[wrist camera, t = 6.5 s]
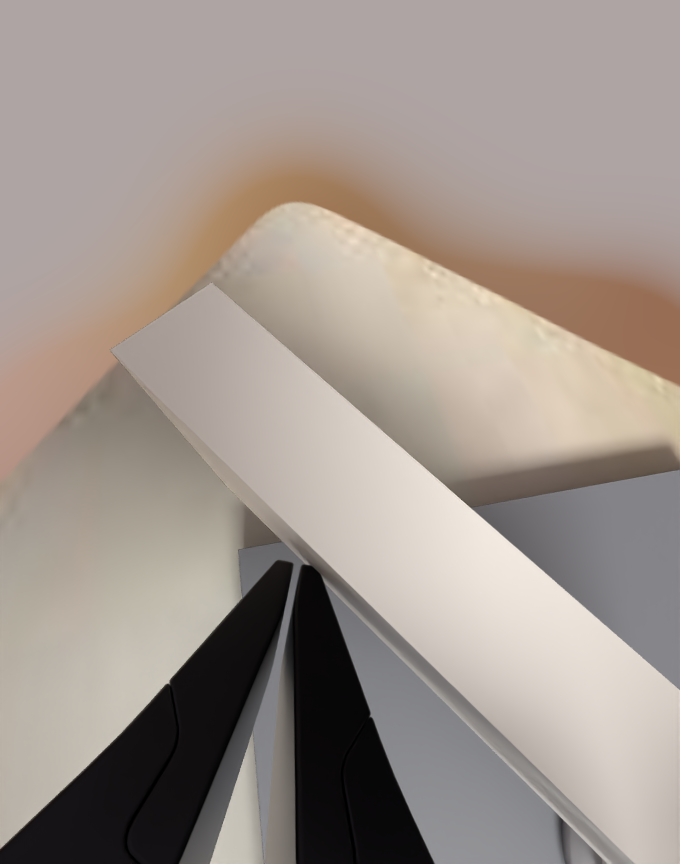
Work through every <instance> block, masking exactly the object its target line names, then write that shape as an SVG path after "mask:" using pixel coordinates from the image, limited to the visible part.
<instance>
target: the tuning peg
mask: <svg viewBox="0 0 680 864" xmlns="http://www.w3.org/2000/svg"><path fill="white" fill-rule="evenodd" d="M110 351H111V352H112V353H113V355H114V356H115V357H116V358H117V359H118V360H119V362H120V363H121V364H122V365H123V366H124V367H125V369H126V370H127V371H128V372H129V373H130V374H131V376H132V377H133V378H134V379H135V380H136V381H137V383H138V384H139V385H140V386H141V387H142V388H143V390H144V391H145V392H146V393H147V394H148V395H149V396H150V398H151V399H152V400H153V401H154V402H155V403H156V405H157V406H158V407H159V408H160V409H161V410H162V412H163V413H164V414H165V415H166V416H167V417H168V419H169V420H170V421H171V422H172V423H173V424H174V426H175V427H176V428H177V429H178V430H179V431H180V433H181V434H182V435H183V436H184V437H185V438H186V439H187V441H188V442H189V443H190V444H191V445H192V446H193V448H194V449H195V450H196V451H197V452H198V453H199V455H200V456H201V457H202V458H203V459H204V460H205V462H206V463H207V464H208V465H209V466H210V467H211V469H212V470H213V471H214V472H215V473H216V474H217V476H218V477H219V478H220V479H221V480H222V481H223V483H224V484H225V485H226V486H227V487H228V488H229V489H230V490H231V491H232V492H233V493H234V494H235V495H236V496H237V497H238V498H239V499H240V500H241V501H242V502H243V503H244V504H245V505H246V506H247V507H248V508H249V509H250V510H251V511H252V512H253V513H254V514H255V515H256V516H257V517H258V518H259V519H260V520H261V521H262V522H263V523H264V524H265V525H266V526H267V527H268V528H269V529H270V530H271V531H272V532H273V533H274V534H275V535H276V536H277V537H278V538H280V539H281V540H282V541H283V542H284V543H285V544H286V545H287V546H288V547H289V548H290V549H291V550H292V551H293V552H294V553H295V554H296V555H297V556H298V557H299V558H300V559H301V560H302V561H303V562H304V563H305V564H307V565H312V566H313V567H314V568H315V569H316V570H317V571H318V572H319V573H320V574H321V575H322V578H323V581H324V583H325V584H326V585H327V586H328V587H329V588H330V589H331V590H332V591H333V592H334V593H335V594H336V595H337V596H338V597H339V598H340V599H341V600H342V601H343V602H344V603H345V604H346V605H347V606H348V607H349V608H350V609H351V610H352V611H353V612H354V613H355V614H356V615H357V616H358V617H359V618H360V619H361V620H362V621H363V622H364V623H365V624H366V625H367V626H368V627H369V628H370V629H371V630H372V631H373V632H374V633H375V634H376V635H377V636H378V637H379V638H380V639H381V640H382V641H383V642H384V643H385V644H386V645H387V646H388V647H389V648H390V649H391V650H392V651H393V652H394V653H395V654H396V655H397V656H398V657H399V658H401V659H402V660H403V661H404V662H405V663H406V664H407V665H408V666H409V667H410V668H411V669H412V670H413V671H414V672H415V673H416V674H417V675H418V676H419V677H420V678H421V679H422V680H423V681H424V682H425V683H426V684H427V685H428V686H429V687H430V688H431V689H432V690H433V691H434V692H435V693H436V694H437V695H438V696H439V697H440V698H441V699H442V700H443V701H444V702H445V703H446V704H447V705H448V706H449V707H450V708H451V709H452V710H453V711H454V712H455V713H456V714H457V715H458V716H459V717H460V718H461V719H462V720H463V721H464V722H465V723H466V724H467V725H468V726H469V727H470V728H471V729H472V730H473V731H474V732H475V733H476V734H477V735H478V736H479V737H480V738H481V739H482V740H483V741H484V742H485V743H486V744H487V745H488V746H489V747H490V748H491V749H492V750H493V751H494V752H495V753H496V754H497V755H498V756H499V757H500V758H501V759H502V760H503V761H504V762H505V763H506V764H507V765H508V766H509V767H510V768H511V769H512V770H513V771H514V772H515V773H516V774H517V775H518V776H519V777H521V778H522V779H523V780H524V781H525V782H526V783H527V784H528V785H529V786H530V787H531V788H532V789H533V790H534V791H535V792H536V793H537V794H538V795H539V796H540V797H541V798H542V799H543V800H544V801H545V802H546V803H547V804H548V805H549V806H550V807H551V808H552V809H553V810H554V811H555V812H556V813H557V814H558V815H559V816H560V817H561V818H562V819H563V820H564V821H565V822H566V823H567V824H568V825H569V826H570V827H571V828H572V829H573V830H574V831H575V832H576V833H577V834H578V835H579V836H580V837H581V838H582V839H583V840H584V841H585V842H586V843H587V844H588V845H589V846H590V847H591V848H592V849H593V850H594V851H595V852H596V853H597V854H598V855H599V856H600V857H601V858H602V864H680V690H679V689H678V688H677V687H676V686H674V685H673V684H672V683H671V682H670V681H669V680H667V679H666V678H665V677H664V676H663V675H662V674H661V673H659V672H658V671H657V670H656V669H655V668H654V667H653V666H651V665H650V664H649V663H648V662H647V661H646V660H645V659H643V658H642V657H641V656H640V655H639V654H638V653H637V652H635V651H634V650H633V649H632V648H631V647H630V646H628V645H627V644H626V643H625V642H624V641H623V640H622V639H620V638H619V637H618V636H617V635H616V634H615V633H614V632H612V631H611V630H610V629H609V628H608V627H607V626H606V625H604V624H603V623H602V622H601V621H600V620H599V619H597V618H596V617H595V616H594V615H593V614H592V613H591V612H589V611H588V610H587V609H586V608H585V607H584V606H583V605H581V604H580V603H579V602H578V601H577V600H576V599H575V598H573V597H572V596H571V595H570V594H569V593H568V592H567V591H565V590H564V589H563V588H562V587H561V586H560V585H558V584H557V583H556V582H555V581H554V580H553V579H552V578H550V577H549V576H548V575H547V574H546V573H545V572H544V571H542V570H541V569H540V568H539V567H538V566H537V565H536V564H534V563H533V562H532V561H531V560H530V559H529V558H528V557H526V556H525V555H524V554H523V553H522V552H521V551H519V550H518V549H517V548H516V547H515V546H514V545H513V544H511V543H510V542H509V541H508V540H507V539H506V538H505V537H503V536H502V535H501V534H500V533H499V532H498V531H497V530H495V529H494V528H493V527H492V526H491V525H490V524H488V523H487V522H486V521H485V520H484V519H483V518H482V517H480V516H479V515H478V514H477V513H476V512H475V511H474V510H472V509H471V508H470V507H469V506H468V505H467V504H466V503H464V502H463V501H462V500H461V499H460V498H459V497H458V496H456V495H455V494H454V493H453V492H452V491H451V490H449V489H448V488H447V487H446V486H445V485H444V484H443V483H441V482H440V481H439V480H438V479H437V478H436V477H435V476H433V475H432V474H431V473H430V472H429V471H428V470H427V469H425V468H424V467H423V466H422V465H421V464H420V463H419V462H417V461H416V460H415V459H414V458H413V457H412V456H410V455H409V454H408V453H407V452H406V451H405V450H404V449H402V448H401V447H400V446H399V445H398V444H397V443H396V442H394V441H393V440H392V439H391V438H390V437H389V436H388V435H386V434H385V433H384V432H383V431H382V430H381V429H379V428H378V427H377V426H376V425H375V424H374V423H373V422H371V421H370V420H369V419H368V418H367V417H366V416H365V415H363V414H362V413H361V412H360V411H359V410H358V409H357V408H355V407H354V406H353V405H352V404H351V403H350V402H349V401H347V400H346V399H345V398H344V397H343V396H342V395H340V394H339V393H338V392H337V391H336V390H335V389H334V388H332V387H331V386H330V385H329V384H328V383H327V382H326V381H324V380H323V379H322V378H321V377H320V376H319V375H318V374H316V373H315V372H314V371H313V370H312V369H311V368H310V367H308V366H307V365H306V364H305V363H304V362H303V361H301V360H300V359H299V358H298V357H297V356H296V355H295V354H293V353H292V352H291V351H290V350H289V349H288V348H287V347H285V346H284V345H283V344H282V343H281V342H280V341H279V340H277V339H276V338H275V337H274V336H273V335H272V334H270V333H269V332H268V331H267V330H266V329H265V328H264V327H262V326H261V325H260V324H259V323H258V322H257V321H256V320H254V319H253V318H252V317H251V316H250V315H249V314H248V313H246V312H245V311H244V310H243V309H242V308H241V307H240V306H238V305H237V304H236V303H235V302H234V301H233V300H231V299H230V298H229V297H228V296H227V295H226V294H225V293H223V292H222V291H221V290H220V289H219V288H218V287H217V286H215V285H214V284H213V283H212V282H211V283H210V284H208V285H207V286H205V287H204V288H202V289H201V290H199V291H198V292H196V293H195V294H193V295H192V296H190V297H189V298H187V299H186V300H184V301H183V302H181V303H180V304H178V305H177V306H175V307H174V308H172V309H171V310H169V311H168V312H166V313H165V314H163V315H162V316H160V317H159V318H157V319H156V320H154V321H153V322H151V323H150V324H148V325H147V326H145V327H144V328H142V329H141V330H139V331H138V332H136V333H135V334H133V335H132V336H130V337H129V338H127V339H126V340H124V341H123V342H121V343H120V344H118V345H116V346H115V347H113V348H112V349H110Z"/></svg>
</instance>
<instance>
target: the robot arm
mask: <svg viewBox="0 0 680 864" xmlns="http://www.w3.org/2000/svg"><path fill="white" fill-rule="evenodd" d="M293 567H294V564H293V562H290V561H285V560H276V561H275V562H274V563H273V564H272V565H271V566H270V568H269V569H268V570H267V571H266V572H265V573H264V574H263V575H262V577H261V578H260V579H259V580H258V581H257V582H256V583H255V584H254V586H253V587H252V588H251V589H250V590H249V591H248V592H247V594H246V595H245V596H244V597H243V598H242V599H241V600H240V601H239V603H238V604H237V605H236V606H235V607H234V608H233V609H232V610H231V612H230V613H229V614H228V615H227V616H226V617H225V618H224V619H223V621H222V622H221V623H220V624H219V625H218V626H217V627H216V629H215V630H214V631H213V632H212V633H211V634H210V635H209V636H208V638H207V639H206V640H205V641H204V642H203V643H202V644H201V645H200V647H199V648H198V649H197V650H196V651H195V652H194V653H193V654H192V656H191V657H190V658H189V659H188V660H187V661H186V662H185V663H184V665H183V666H182V667H181V668H180V669H179V670H178V671H177V673H176V674H175V675H174V676H173V677H172V678H171V679H170V682H169V684H166V685H165V686H164V687H163V688H162V689H161V690H160V691H159V693H158V694H157V695H156V696H155V697H154V698H153V699H152V700H151V702H150V703H149V704H148V705H147V706H146V707H145V708H144V709H143V710H142V711H141V712H140V713H139V715H138V716H137V717H136V718H135V719H134V720H133V721H132V722H131V723H130V724H129V725H128V726H127V727H126V729H125V730H124V731H123V732H122V733H121V734H120V735H119V736H118V737H117V738H116V739H115V740H114V741H113V742H112V743H111V744H110V745H109V746H108V747H107V748H106V749H105V750H104V751H103V752H102V753H101V754H99V755H98V756H97V757H96V758H95V759H94V760H93V761H92V762H91V763H90V764H89V765H88V766H87V767H86V768H85V769H84V770H83V771H82V772H81V773H80V774H79V775H78V776H77V777H76V778H75V779H74V780H73V781H71V782H70V783H69V784H68V785H67V786H66V787H65V788H64V789H63V790H62V791H61V792H60V793H59V794H58V795H57V796H56V797H55V798H54V799H52V800H51V801H50V802H49V803H48V804H47V805H46V806H45V807H44V808H43V809H42V810H41V811H40V812H39V813H38V814H37V815H36V816H34V817H33V818H32V819H31V820H30V821H29V822H28V823H27V824H26V825H25V826H24V827H23V828H22V829H21V830H20V831H19V832H18V833H17V834H15V835H14V836H13V837H12V838H11V839H10V840H9V841H8V842H7V843H6V844H5V845H4V846H3V847H2V848H1V849H0V864H210V861H211V858H212V855H213V852H214V849H215V845H216V842H217V839H218V836H219V833H220V830H221V827H222V824H223V821H224V818H225V814H226V811H227V808H228V805H229V802H230V799H231V796H232V793H233V790H234V786H235V783H236V780H237V777H238V774H239V771H240V768H241V765H242V762H243V759H244V755H245V752H246V749H247V746H248V743H249V740H250V737H251V734H252V731H253V727H254V724H255V721H256V718H257V715H258V712H259V709H260V706H261V703H262V700H263V696H264V693H265V690H266V687H267V684H268V681H269V678H270V674H271V671H272V667H273V663H274V659H275V655H276V650H277V645H278V640H279V636H280V631H281V626H282V621H283V616H284V611H285V606H286V602H287V597H288V592H289V587H290V582H291V577H292V572H293ZM370 716H371V711H370V709H369V706H368V703H367V700H366V697H365V695H364V692H363V689H362V686H361V684H360V681H359V678H358V675H357V672H356V670H355V667H354V664H353V661H352V659H351V656H350V653H349V650H348V647H347V645H346V642H345V639H344V636H343V634H342V631H341V628H340V625H339V622H338V620H337V617H336V614H335V611H334V608H333V606H332V603H331V600H330V597H329V595H328V592H327V589H326V586H325V583H324V581H323V578H322V575H321V574H320V573H319V572H318V571H317V570H316V569H315V568H314V567H313V566H312V565H307V564H302V565H301V567H300V571H299V576H298V581H297V585H296V590H295V595H294V600H293V605H292V610H291V615H290V621H289V626H288V631H287V636H286V641H285V647H284V652H283V657H282V663H281V670H280V679H279V691H278V703H277V715H276V727H275V740H274V752H273V764H272V776H271V788H270V800H269V813H268V825H267V837H266V849H265V861H264V864H435V863H434V860H433V858H432V856H431V854H430V852H429V850H428V848H427V846H426V843H425V841H424V839H423V837H422V835H421V833H420V831H419V828H418V826H417V824H416V822H415V820H414V818H413V816H412V813H411V811H410V809H409V807H408V804H407V802H406V800H405V798H404V795H403V793H402V791H401V789H400V786H399V784H398V782H397V780H396V777H395V775H394V772H393V770H392V767H391V765H390V762H389V759H388V757H387V754H386V752H385V749H384V747H383V744H382V741H381V739H380V736H379V733H378V730H377V728H376V725H375V722H374V719H373V718H372V717H370Z"/></svg>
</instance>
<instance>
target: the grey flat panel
mask: <svg viewBox="0 0 680 864" xmlns="http://www.w3.org/2000/svg"><path fill="white" fill-rule="evenodd" d="M471 509H472V510H474V511H475V512H476V513H477V514H478V515H479V516H480V517H482V518H483V519H484V520H485V521H486V522H487V523H488V524H490V525H491V526H492V527H493V528H494V529H495V530H497V531H498V532H499V533H500V534H501V535H502V536H503V537H505V538H506V539H507V540H508V541H509V542H510V543H511V544H513V545H514V546H515V547H516V548H517V549H518V550H519V551H521V552H522V553H523V554H524V555H525V556H526V557H528V558H529V559H530V560H531V561H532V562H533V563H534V564H536V565H537V566H538V567H539V568H540V569H541V570H542V571H544V572H545V573H546V574H547V575H548V576H549V577H550V578H552V579H553V580H554V581H555V582H556V583H557V584H558V585H560V586H561V587H562V588H563V589H564V590H565V591H567V592H568V593H569V594H570V595H571V596H572V597H573V598H575V599H576V600H577V601H578V602H579V603H580V604H581V605H583V606H584V607H585V608H586V609H587V610H588V611H589V612H591V613H592V614H593V615H594V616H595V617H596V618H597V619H599V620H600V621H601V622H602V623H603V624H604V625H606V626H607V627H608V628H609V629H610V630H611V631H612V632H614V633H615V634H616V635H617V636H618V637H619V638H620V639H622V640H623V641H624V642H625V643H626V644H627V645H628V646H630V647H631V648H632V649H633V650H634V651H635V652H637V653H638V654H639V655H640V656H641V657H642V658H643V659H645V660H646V661H647V662H648V663H649V664H650V665H651V666H653V667H654V668H655V669H656V670H657V671H658V672H659V673H661V674H662V675H663V676H664V677H665V678H666V679H667V680H669V681H670V682H671V683H672V684H673V685H674V686H676V687H677V688H678V689H679V690H680V470H675V471H670V472H664V473H659V474H653V475H648V476H642V477H637V478H631V479H626V480H620V481H615V482H609V483H604V484H598V485H593V486H587V487H582V488H576V489H570V490H565V491H559V492H554V493H548V494H543V495H537V496H532V497H526V498H521V499H515V500H510V501H504V502H499V503H493V504H488V505H482V506H477V507H471ZM238 554H239V566H240V578H241V591H242V598H243V597H244V596H245V595H246V594H247V592H248V591H249V590H250V589H251V588H252V587H253V586H254V584H255V583H256V582H257V581H258V580H259V579H260V578H261V577H262V575H263V574H264V573H265V572H266V571H267V570H268V569H269V568H270V566H271V565H272V564H273V563H274V562H275V561H276V560H285V561H290V562H293V564H294V567H293V572H292V577H291V582H290V587H289V592H288V597H287V602H286V606H285V611H284V616H283V621H282V626H281V631H280V636H279V640H278V645H277V650H276V655H275V659H274V663H273V667H272V671H271V674H270V678H269V681H268V684H267V687H266V690H265V693H264V696H263V700H262V703H261V706H260V709H259V712H258V715H257V718H256V721H255V724H254V727H253V736H254V748H255V760H256V773H257V785H258V797H259V809H260V821H261V833H262V845H263V858H264V861H265V849H266V837H267V825H268V813H269V800H270V788H271V776H272V764H273V752H274V740H275V727H276V715H277V703H278V691H279V679H280V670H281V663H282V657H283V652H284V647H285V641H286V636H287V631H288V626H289V621H290V615H291V610H292V605H293V600H294V595H295V590H296V585H297V581H298V576H299V571H300V567H301V565H302V564H305V563H304V562H303V561H302V560H301V559H300V558H299V557H298V556H297V555H296V554H295V553H294V552H293V551H292V550H291V549H290V548H289V547H288V546H287V545H286V544H285V543H284V542H278V543H273V544H267V545H262V546H256V547H250V548H245V549H239V550H238ZM325 586H326V589H327V592H328V595H329V597H330V600H331V603H332V606H333V608H334V611H335V614H336V617H337V620H338V622H339V625H340V628H341V631H342V634H343V636H344V639H345V642H346V645H347V647H348V650H349V653H350V656H351V659H352V661H353V664H354V667H355V670H356V672H357V675H358V678H359V681H360V684H361V686H362V689H363V692H364V695H365V697H366V700H367V703H368V706H369V709H370V711H371V716H370V717H372V718H373V719H374V722H375V725H376V728H377V730H378V733H379V736H380V739H381V741H382V744H383V747H384V749H385V752H386V754H387V757H388V759H389V762H390V765H391V767H392V770H393V772H394V775H395V777H396V780H397V782H398V784H399V786H400V789H401V791H402V793H403V795H404V798H405V800H406V802H407V804H408V807H409V809H410V811H411V813H412V816H413V818H414V820H415V822H416V824H417V826H418V828H419V831H420V833H421V835H422V837H423V839H424V841H425V843H426V846H427V848H428V850H429V852H430V854H431V856H432V858H433V860H434V863H435V864H602V858H601V857H600V856H599V855H598V854H597V853H596V852H595V851H594V850H593V849H592V848H591V847H590V846H589V845H588V844H587V843H586V842H585V841H584V840H583V839H582V838H581V837H580V836H579V835H578V834H577V833H576V832H575V831H574V830H573V829H572V828H571V827H570V826H569V825H568V824H567V823H566V822H565V821H564V820H563V819H562V818H561V817H560V816H559V815H558V814H557V813H556V812H555V811H554V810H553V809H552V808H551V807H550V806H549V805H548V804H547V803H546V802H545V801H544V800H543V799H542V798H541V797H540V796H539V795H538V794H537V793H536V792H535V791H534V790H533V789H532V788H531V787H530V786H529V785H528V784H527V783H526V782H525V781H524V780H523V779H522V778H521V777H519V776H518V775H517V774H516V773H515V772H514V771H513V770H512V769H511V768H510V767H509V766H508V765H507V764H506V763H505V762H504V761H503V760H502V759H501V758H500V757H499V756H498V755H497V754H496V753H495V752H494V751H493V750H492V749H491V748H490V747H489V746H488V745H487V744H486V743H485V742H484V741H483V740H482V739H481V738H480V737H479V736H478V735H477V734H476V733H475V732H474V731H473V730H472V729H471V728H470V727H469V726H468V725H467V724H466V723H465V722H464V721H463V720H462V719H461V718H460V717H459V716H458V715H457V714H456V713H455V712H454V711H453V710H452V709H451V708H450V707H449V706H448V705H447V704H446V703H445V702H444V701H443V700H442V699H441V698H440V697H439V696H438V695H437V694H436V693H435V692H434V691H433V690H432V689H431V688H430V687H429V686H428V685H427V684H426V683H425V682H424V681H423V680H422V679H421V678H420V677H419V676H418V675H417V674H416V673H415V672H414V671H413V670H412V669H411V668H410V667H409V666H408V665H407V664H406V663H405V662H404V661H403V660H402V659H401V658H399V657H398V656H397V655H396V654H395V653H394V652H393V651H392V650H391V649H390V648H389V647H388V646H387V645H386V644H385V643H384V642H383V641H382V640H381V639H380V638H379V637H378V636H377V635H376V634H375V633H374V632H373V631H372V630H371V629H370V628H369V627H368V626H367V625H366V624H365V623H364V622H363V621H362V620H361V619H360V618H359V617H358V616H357V615H356V614H355V613H354V612H353V611H352V610H351V609H350V608H349V607H348V606H347V605H346V604H345V603H344V602H343V601H342V600H341V599H340V598H339V597H338V596H337V595H336V594H335V593H334V592H333V591H332V590H331V589H330V588H329V587H328V586H327V585H326V584H325Z"/></svg>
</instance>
